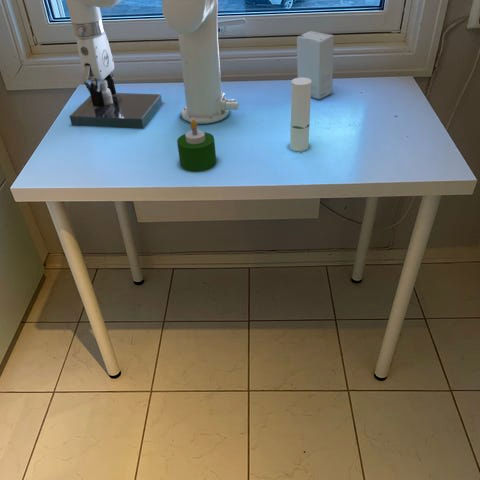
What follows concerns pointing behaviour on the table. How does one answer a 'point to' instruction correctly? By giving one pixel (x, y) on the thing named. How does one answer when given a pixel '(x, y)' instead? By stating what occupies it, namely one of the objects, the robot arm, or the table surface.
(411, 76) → the table surface
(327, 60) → the cosmetic box
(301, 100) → the tube
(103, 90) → the pill bottle
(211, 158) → the candle
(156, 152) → the table surface
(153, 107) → the plate
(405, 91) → the table surface
